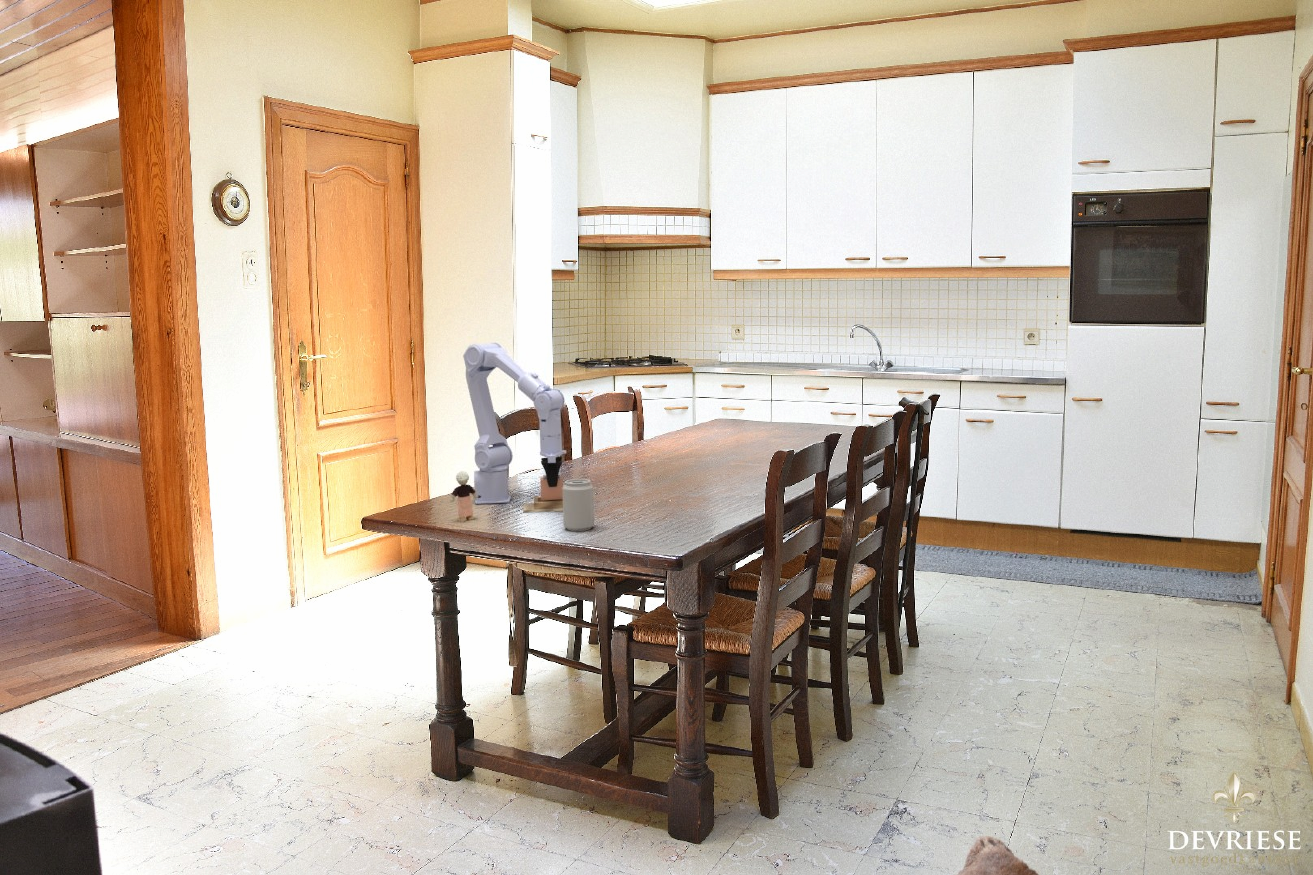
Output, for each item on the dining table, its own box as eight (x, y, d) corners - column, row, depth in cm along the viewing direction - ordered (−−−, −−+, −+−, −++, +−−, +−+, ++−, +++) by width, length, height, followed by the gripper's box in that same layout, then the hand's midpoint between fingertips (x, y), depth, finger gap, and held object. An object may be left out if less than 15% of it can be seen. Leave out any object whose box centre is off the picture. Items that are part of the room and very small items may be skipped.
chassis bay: (523, 512, 271) (522, 503, 271) (523, 505, 280) (523, 497, 280) (583, 509, 273) (583, 500, 273) (582, 503, 282) (582, 494, 282)
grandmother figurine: (470, 516, 268) (468, 468, 267) (480, 518, 266) (478, 469, 264) (447, 521, 263) (445, 473, 261) (457, 523, 260) (455, 474, 258)
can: (594, 524, 255) (593, 477, 254) (594, 531, 248) (592, 482, 246) (564, 525, 255) (562, 478, 254) (563, 532, 248) (561, 483, 246)
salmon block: (541, 500, 274) (540, 477, 273) (541, 497, 278) (540, 475, 277) (563, 499, 275) (562, 476, 274) (563, 496, 279) (562, 474, 278)
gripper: (566, 438, 267) (568, 489, 269) (565, 431, 281) (566, 479, 283) (539, 439, 266) (541, 490, 268) (539, 432, 281) (541, 480, 283)
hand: (552, 485), depth 276 cm, fingers closed on salmon block, 4 cm apart
